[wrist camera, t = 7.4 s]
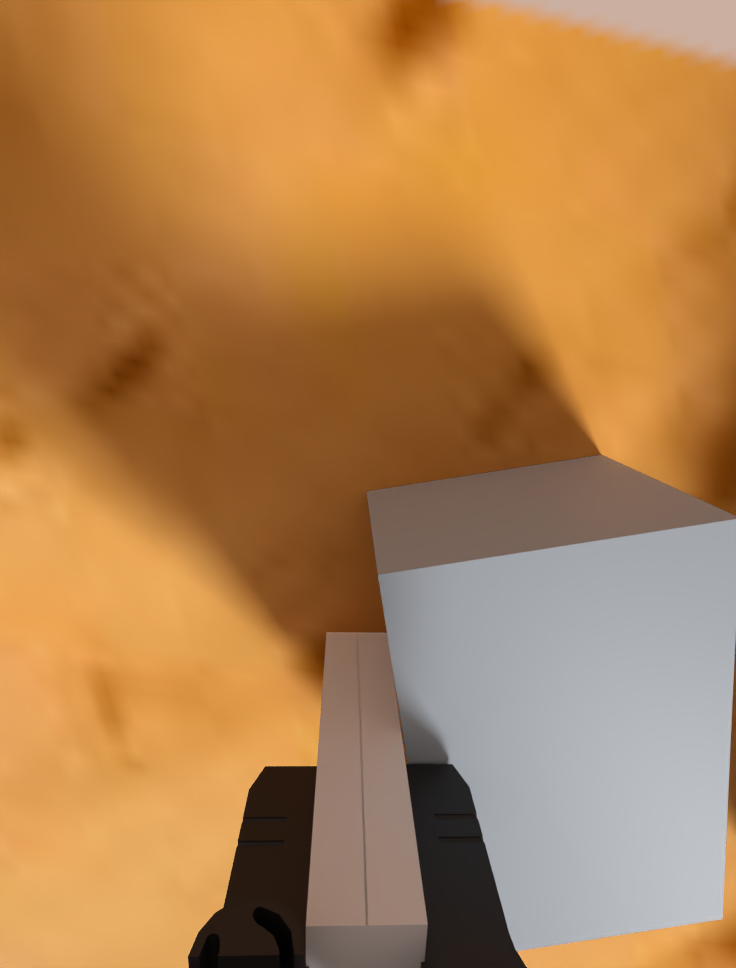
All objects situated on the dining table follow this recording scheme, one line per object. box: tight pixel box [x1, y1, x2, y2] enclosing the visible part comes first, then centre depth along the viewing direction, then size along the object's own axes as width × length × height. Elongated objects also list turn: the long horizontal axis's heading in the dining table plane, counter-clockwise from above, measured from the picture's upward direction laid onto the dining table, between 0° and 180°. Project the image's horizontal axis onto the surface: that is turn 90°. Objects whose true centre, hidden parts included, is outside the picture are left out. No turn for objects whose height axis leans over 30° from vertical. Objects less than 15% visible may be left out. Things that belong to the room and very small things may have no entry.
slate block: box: [366, 455, 736, 951], centre depth 12 cm, size 6×9×5 cm, turn 9°
